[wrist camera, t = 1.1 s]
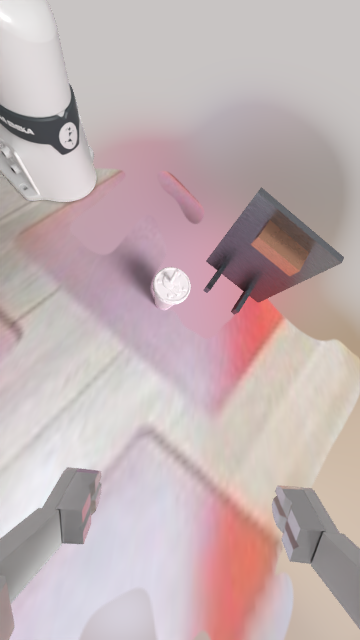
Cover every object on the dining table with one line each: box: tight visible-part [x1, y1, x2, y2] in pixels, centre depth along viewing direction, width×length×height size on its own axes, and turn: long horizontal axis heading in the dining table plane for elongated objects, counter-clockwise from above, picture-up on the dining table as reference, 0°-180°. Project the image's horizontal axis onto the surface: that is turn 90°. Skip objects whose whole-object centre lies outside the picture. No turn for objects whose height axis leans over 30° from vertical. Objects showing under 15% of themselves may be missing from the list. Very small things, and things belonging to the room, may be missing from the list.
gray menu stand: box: [204, 188, 344, 314], centre depth 38 cm, size 16×8×20 cm, turn 55°
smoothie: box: [153, 267, 191, 310], centre depth 36 cm, size 6×6×14 cm
